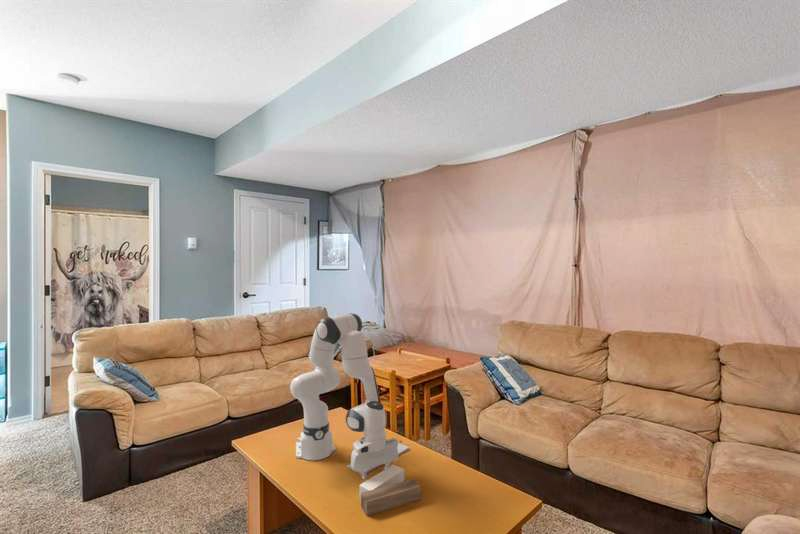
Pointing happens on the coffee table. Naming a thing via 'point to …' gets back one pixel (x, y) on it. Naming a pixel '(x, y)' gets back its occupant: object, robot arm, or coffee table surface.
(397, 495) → the brown wooden block
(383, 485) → the cream floor plank
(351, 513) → the coffee table surface
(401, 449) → the baseboard molding
